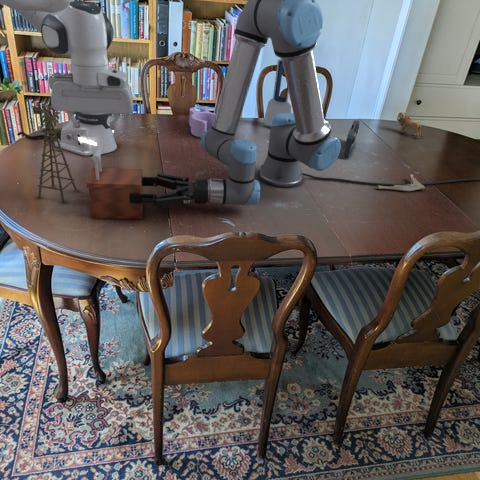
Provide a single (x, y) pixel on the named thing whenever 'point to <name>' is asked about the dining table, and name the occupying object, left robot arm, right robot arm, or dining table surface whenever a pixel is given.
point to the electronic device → (277, 99)
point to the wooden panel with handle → (112, 175)
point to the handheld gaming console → (351, 139)
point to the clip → (200, 121)
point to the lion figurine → (408, 124)
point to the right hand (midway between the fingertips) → (131, 189)
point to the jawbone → (405, 186)
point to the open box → (115, 203)
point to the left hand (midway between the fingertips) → (95, 128)
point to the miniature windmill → (51, 149)
